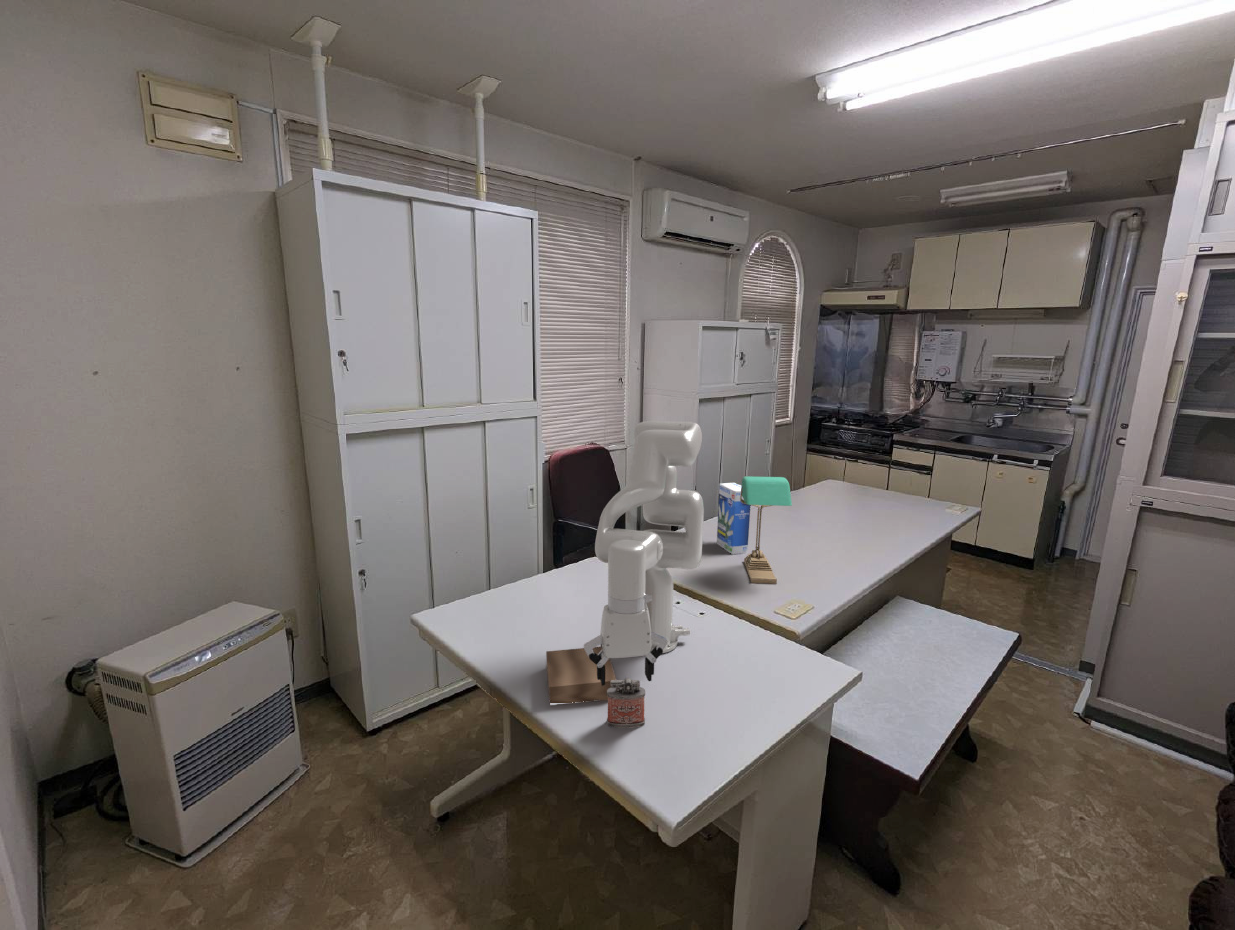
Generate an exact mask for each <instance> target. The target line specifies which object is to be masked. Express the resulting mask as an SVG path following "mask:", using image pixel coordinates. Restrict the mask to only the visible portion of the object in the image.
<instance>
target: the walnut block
mask: <svg viewBox="0 0 1235 930" xmlns="http://www.w3.org/2000/svg"><path fill="white" fill-rule="evenodd" d="M592 650H593V651H594V652H595V653H596V654H597V655H598V653H599V652H600V651H601V650H602V648H601V646H597V647H595V648H593V649H592ZM545 655H546V656H545V657H546V660H545V661H546V676H548V678H547V685H548V687H547V688H549V690H548V698H549V700H550V702H549V704H550V703H572V702H573V703H572V704H576V703H575V702H581V703H587V702H586V701H591V702H595V701H594V700H600V701H608V696H607V690H608V689H609V688H611V687H610V681H611V680H617V679H616V675H615V671H614V667H613V664H612V662H611V658H609V659H608V660H607V662H606V663H605V664H604V665H605V685H604V686H602V685H601V681H600V680H598V679H597V665H596V664H595V663H594V662H593V661H591V660H590V659H589V656H588V655H587V653H586V651H585V650H584V647H580V648H570V649H559V650H547V651H546V653H545ZM583 701H584V702H583Z"/></svg>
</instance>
